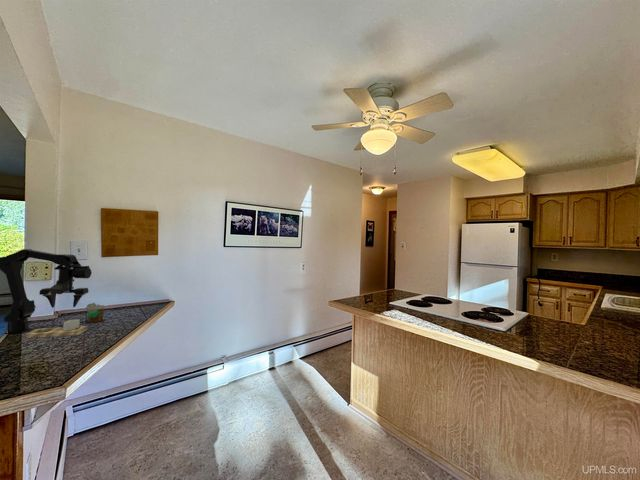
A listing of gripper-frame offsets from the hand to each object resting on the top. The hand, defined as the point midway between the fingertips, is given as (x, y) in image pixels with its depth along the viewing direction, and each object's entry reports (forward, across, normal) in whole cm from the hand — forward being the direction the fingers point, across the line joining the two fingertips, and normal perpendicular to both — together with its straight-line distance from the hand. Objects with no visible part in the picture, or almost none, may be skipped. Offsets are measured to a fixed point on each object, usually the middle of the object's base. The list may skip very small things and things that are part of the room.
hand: (63, 307), depth 142 cm
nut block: (+12, +7, -7) cm, 15 cm away
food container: (+12, +7, +14) cm, 20 cm away
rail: (+12, +2, -7) cm, 14 cm away
